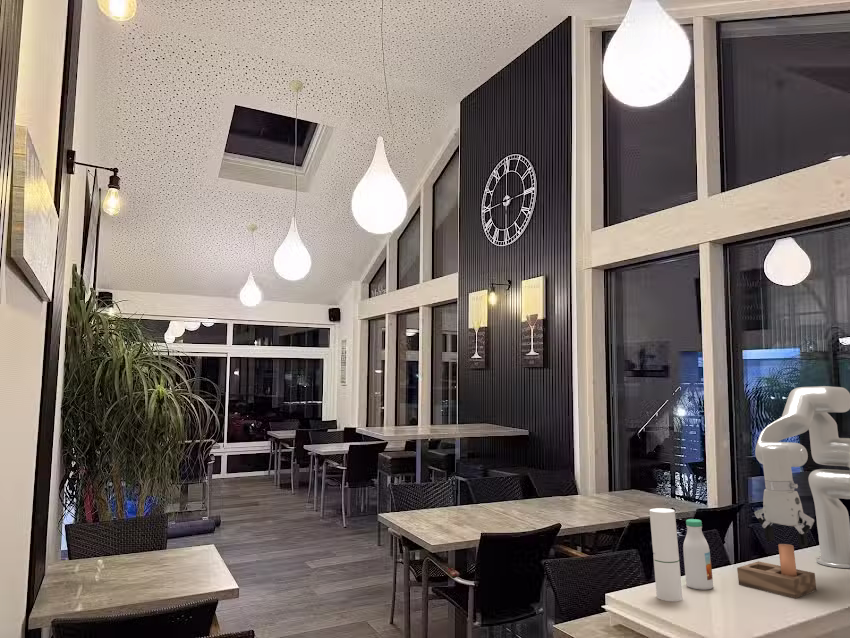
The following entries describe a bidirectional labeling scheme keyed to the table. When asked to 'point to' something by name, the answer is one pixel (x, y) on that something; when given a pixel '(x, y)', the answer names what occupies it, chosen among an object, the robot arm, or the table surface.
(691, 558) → the milk bottle
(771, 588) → the socket block
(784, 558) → the pin
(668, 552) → the cylindrical container
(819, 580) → the table surface
